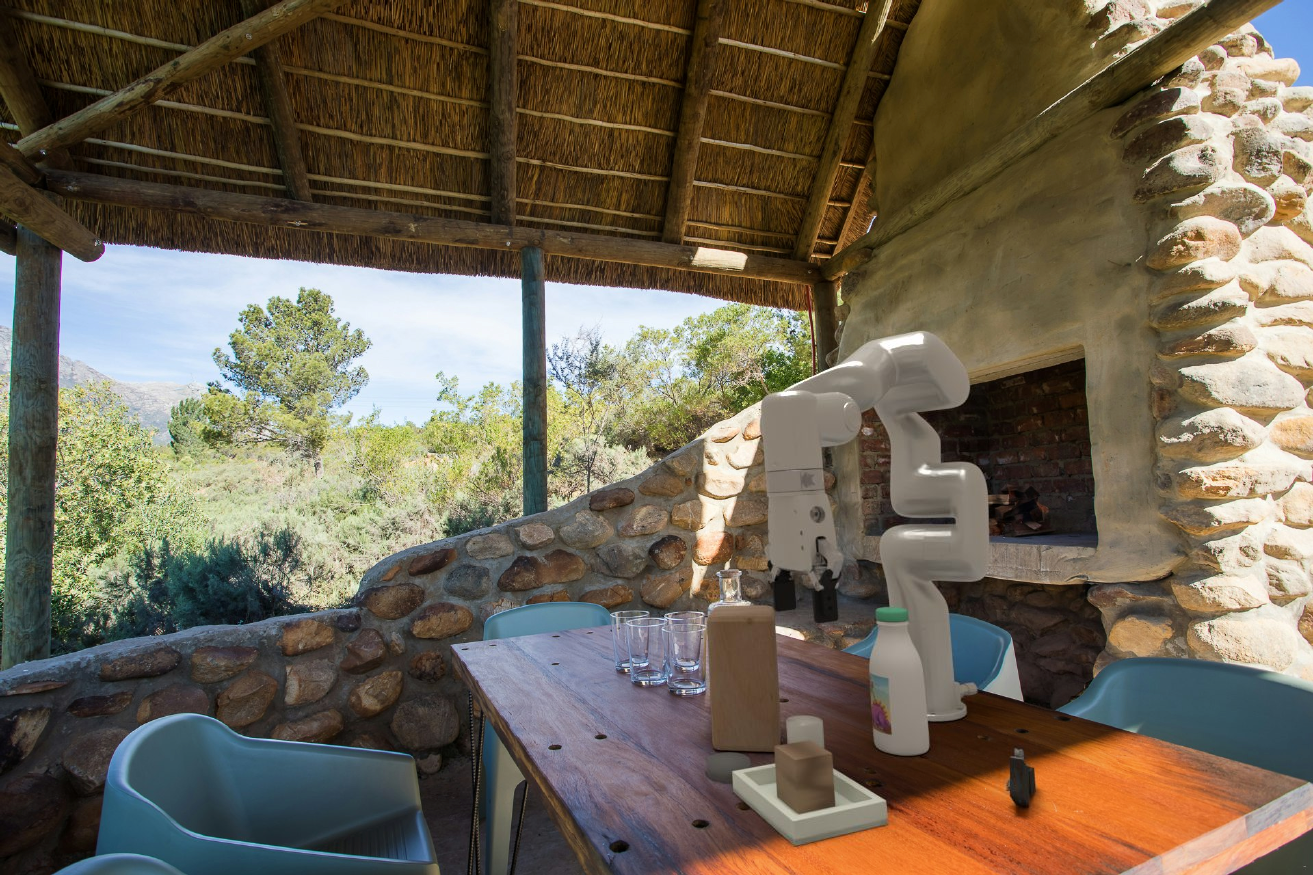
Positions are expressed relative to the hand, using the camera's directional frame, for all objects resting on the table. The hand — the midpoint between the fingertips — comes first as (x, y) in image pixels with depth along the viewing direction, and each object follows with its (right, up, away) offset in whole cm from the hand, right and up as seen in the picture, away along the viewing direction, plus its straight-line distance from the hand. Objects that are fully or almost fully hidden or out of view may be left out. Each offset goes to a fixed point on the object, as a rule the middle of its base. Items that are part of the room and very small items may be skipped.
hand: (804, 615), depth 87 cm
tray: (-1, -21, -7) cm, 22 cm away
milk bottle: (+17, -23, +11) cm, 30 cm away
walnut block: (-1, -21, -7) cm, 22 cm away
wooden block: (-5, -24, +16) cm, 29 cm away
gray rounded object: (-9, -23, +4) cm, 25 cm away
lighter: (+24, -20, -7) cm, 32 cm away
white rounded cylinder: (+2, -22, +6) cm, 23 cm away
